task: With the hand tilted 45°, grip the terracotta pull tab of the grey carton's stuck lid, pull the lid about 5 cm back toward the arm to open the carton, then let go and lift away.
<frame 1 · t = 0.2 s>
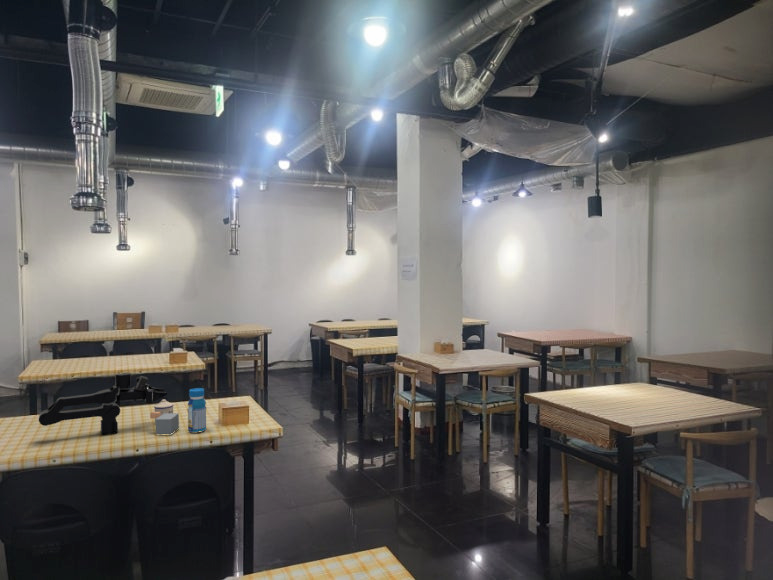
hand: (165, 391, 258), 16 cm above the table, tool horizontal, fingers open, 9 cm apart
lid: (163, 414, 246), point 8 cm above the table, slide at 0.0 cm
beverage bottle: (197, 431, 248), on the table
carton: (167, 432, 246), on the table
teacup with lid: (165, 422, 264), on the table
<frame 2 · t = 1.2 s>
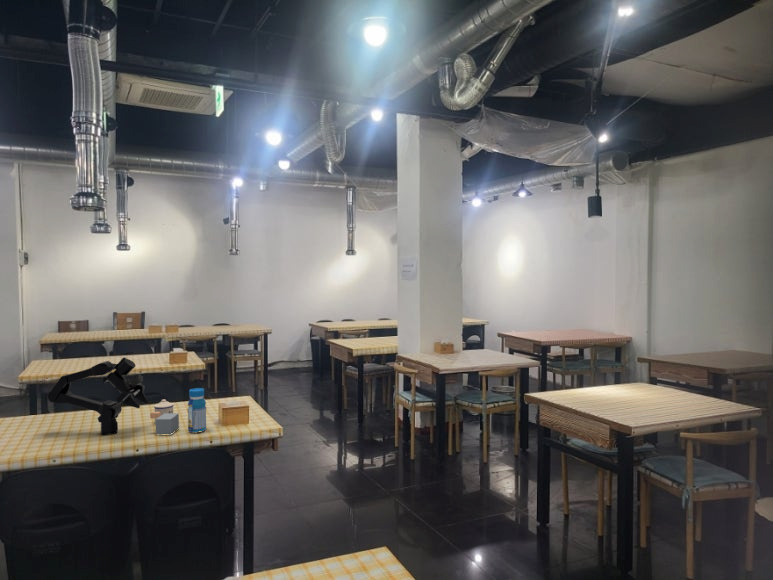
hand: (143, 405, 246), 13 cm above the table, tool tilted 45°, fingers open, 9 cm apart
nothing on the table moved.
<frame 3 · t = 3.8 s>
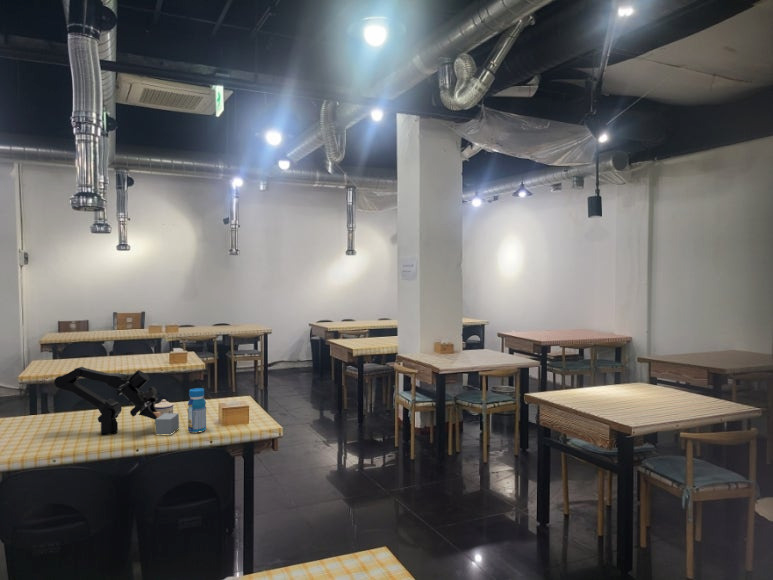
hand: (157, 418, 246), 7 cm above the table, tool tilted 45°, fingers closed on lid, 2 cm apart
lid: (163, 414, 246), point 8 cm above the table, slide at 0.0 cm, touching gripper
everything else where it was.
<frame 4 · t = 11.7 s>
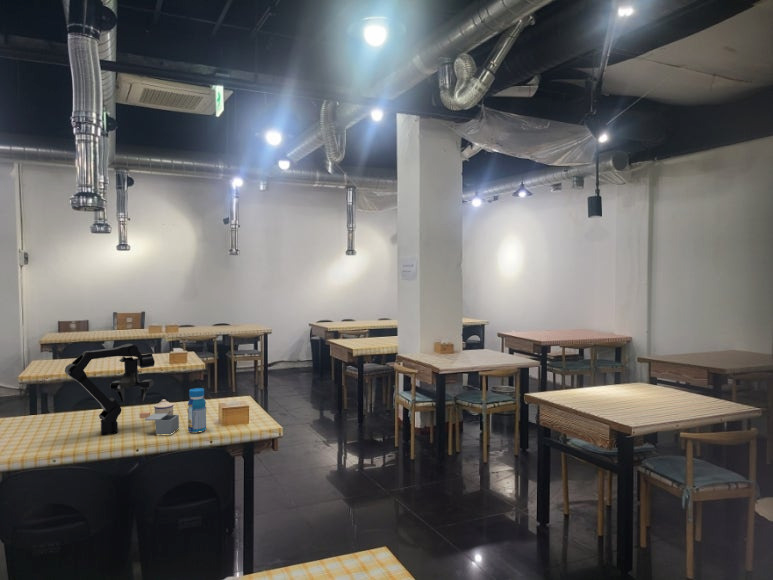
hand: (132, 401, 253), 13 cm above the table, tool pointing down, fingers open, 9 cm apart
lid: (152, 415, 246), point 8 cm above the table, slide at 5.0 cm
everything else where it was.
at the end: lid slide at 5.0 cm; the gripper is holding nothing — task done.
